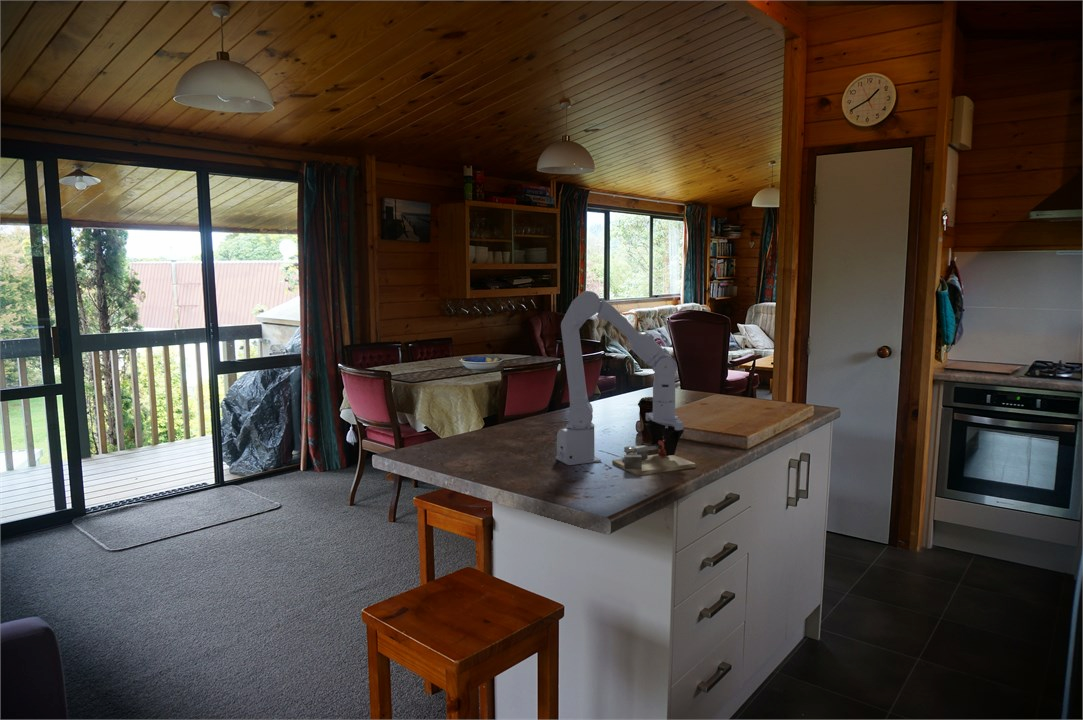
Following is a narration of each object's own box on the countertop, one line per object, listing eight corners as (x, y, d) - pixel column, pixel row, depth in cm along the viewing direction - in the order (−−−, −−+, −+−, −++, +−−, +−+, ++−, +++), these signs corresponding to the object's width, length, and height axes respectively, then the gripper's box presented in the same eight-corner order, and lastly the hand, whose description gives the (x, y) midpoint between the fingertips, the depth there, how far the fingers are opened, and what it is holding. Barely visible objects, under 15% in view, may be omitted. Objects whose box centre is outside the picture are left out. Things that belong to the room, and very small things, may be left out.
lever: (628, 462, 176) (628, 445, 176) (622, 459, 179) (622, 443, 179) (671, 456, 182) (671, 440, 181) (664, 453, 184) (665, 438, 184)
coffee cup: (632, 444, 200) (633, 399, 199) (642, 438, 208) (643, 395, 206) (662, 447, 196) (662, 402, 195) (671, 441, 204) (671, 397, 202)
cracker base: (631, 476, 168) (631, 459, 168) (607, 464, 179) (607, 448, 179) (695, 467, 176) (695, 451, 175) (668, 456, 187) (668, 441, 186)
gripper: (693, 403, 176) (693, 456, 177) (661, 395, 189) (661, 444, 190) (669, 406, 173) (669, 460, 174) (638, 397, 186) (638, 447, 188)
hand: (663, 452), depth 182 cm, fingers open, 6 cm apart
